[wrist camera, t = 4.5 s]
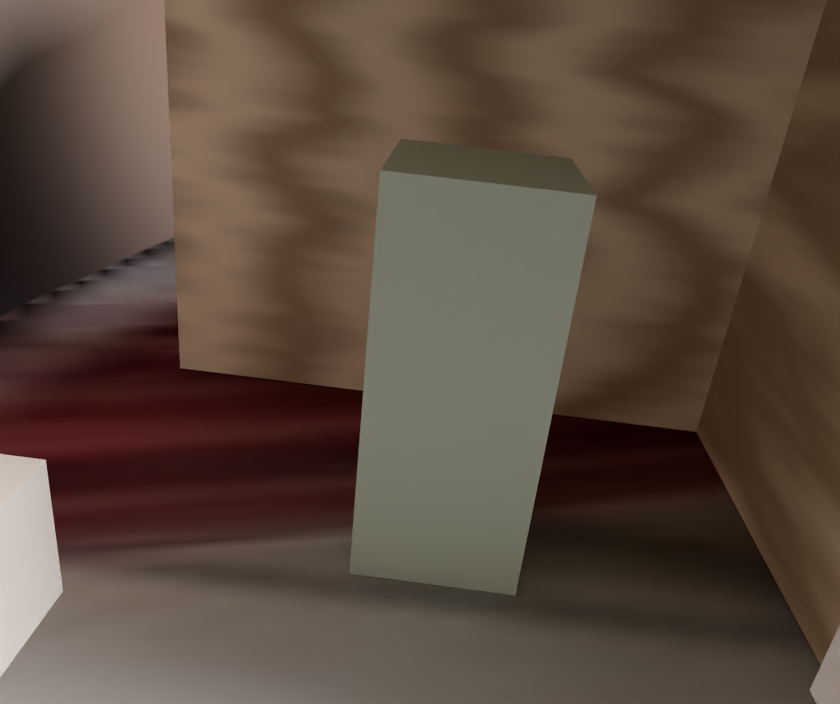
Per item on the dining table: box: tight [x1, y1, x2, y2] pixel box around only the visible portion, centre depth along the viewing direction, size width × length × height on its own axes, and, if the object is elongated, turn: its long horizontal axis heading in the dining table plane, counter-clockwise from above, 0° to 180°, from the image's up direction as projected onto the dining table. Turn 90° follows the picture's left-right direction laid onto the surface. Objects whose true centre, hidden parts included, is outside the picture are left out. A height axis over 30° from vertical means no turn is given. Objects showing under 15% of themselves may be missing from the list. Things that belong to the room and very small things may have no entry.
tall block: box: [349, 139, 597, 595], centre depth 21 cm, size 5×5×12 cm
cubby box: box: [164, 0, 840, 665], centre depth 21 cm, size 24×20×20 cm
